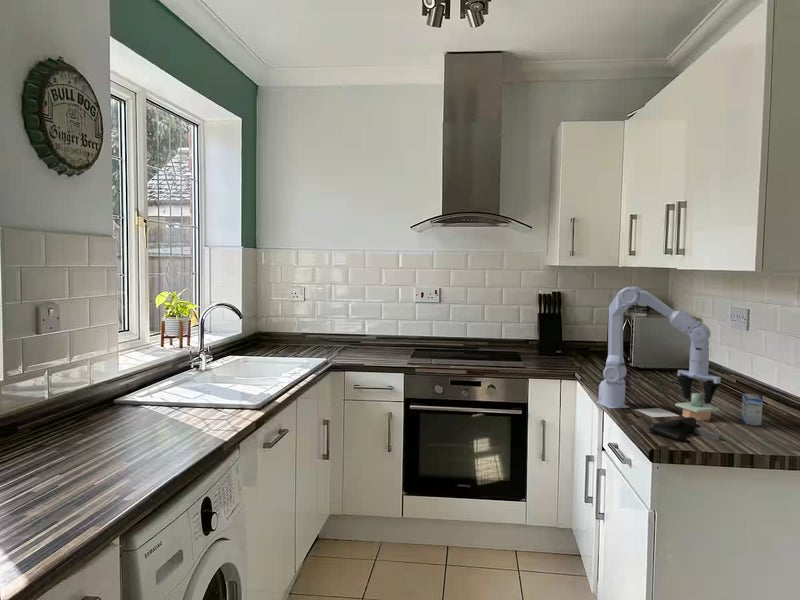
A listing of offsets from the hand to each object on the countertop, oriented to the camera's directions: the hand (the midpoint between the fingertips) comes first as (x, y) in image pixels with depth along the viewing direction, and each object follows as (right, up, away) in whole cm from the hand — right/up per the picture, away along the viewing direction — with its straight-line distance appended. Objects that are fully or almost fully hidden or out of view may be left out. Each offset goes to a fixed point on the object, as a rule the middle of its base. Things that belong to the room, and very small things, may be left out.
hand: (697, 400), depth 192 cm
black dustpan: (-12, -8, -18) cm, 23 cm away
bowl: (0, -6, 0) cm, 6 cm away
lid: (0, -3, 0) cm, 2 cm away
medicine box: (+16, -7, -4) cm, 18 cm away
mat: (-11, -6, +5) cm, 14 cm away
